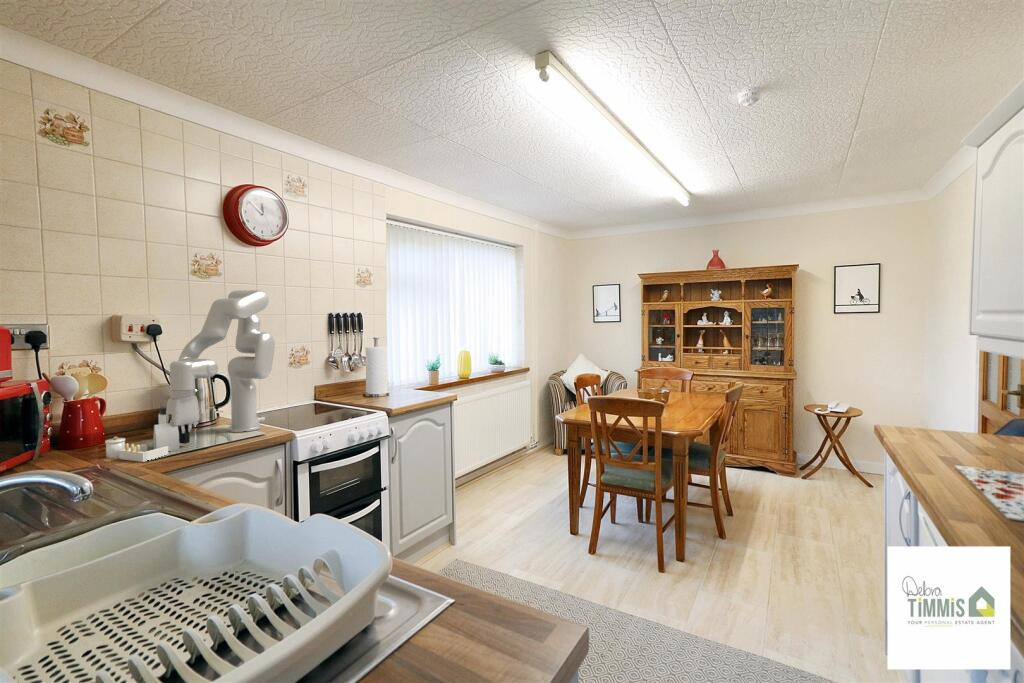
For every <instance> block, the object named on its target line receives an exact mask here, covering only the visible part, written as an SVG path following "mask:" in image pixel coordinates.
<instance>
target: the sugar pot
mask: <svg viewBox="0 0 1024 683" xmlns="http://www.w3.org/2000/svg"><path fill="white" fill-rule="evenodd" d="M104 443H105V455H106V458H108V459H114V458H115V459H116V458H119V450H123V449H126V446H125V444H126V438H125V437H118V436H113V438H109V439H106V440H104Z"/></svg>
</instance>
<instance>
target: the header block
mask: <svg viewBox="0 0 1024 683" xmlns="http://www.w3.org/2000/svg"><path fill="white" fill-rule="evenodd" d="M129 446H130V447H129ZM167 454H169V452H168V447H167V446H166V447H162V448H158V449H154V448H153V449H150V450H148V444H147V443H145V444H136V445H135V443H131V444H130V445H129V443H128V442H127V443H126V442H125V449H123V450H119V457H118V458H119V460H125V461H133V462H139V463H145V462H148V461H147V460H149V461H152V460H155V458H156V459H159V458H158V457H160V458H162V457H161V456H163V457H165V456H164V455H167ZM167 456H168V455H167ZM151 459H152V460H151Z"/></svg>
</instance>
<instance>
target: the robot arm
mask: <svg viewBox="0 0 1024 683" xmlns="http://www.w3.org/2000/svg"><path fill="white" fill-rule="evenodd" d="M268 305H269V296H268V294H267V293H266V292H265V291H263V290H260V289H256V290H255V289H251V290H250V289H249V290H247V289H244V290H243V289H240V290H239V289H238V290H233V291H230V292H229V294H228V295H227V298H218V299H215V300H214V301H213V302H212V304H211V306H210V308H209V310H208V313H207V316H206V318H205V321H204V324H203V326H202V328H201V331H200V332H198V333H197V334H196V335H195V336H194V337H192V339H191V340H189V342H188V343H186V345H185V346H184V347H183V348H182V351H181V353H180V355H179V358H178V360H176V361H172V362H170V364H169V390H170V391H169V392H170V398H168V400H167V404H166V406H167V408H166V423H174V426H178V431H179V444H183V445H185V444H190V443H191V442H190V432H191V431H192V430H193V427H195V426H197V425H198V424H199V420H200V406H199V405H200V404H199V402H198V398H197V395H196V393H198V390H197V388H196V379H209V378H212V377H214V376H216V375H217V373H218V370H219V366H218V364H217V362H215V361H214V360H213V359H209V358H199V357H200V356H201V354H202V353H204V351H205V350H206V349H208V348H209V347H211V346H215V345H217V344H219V343H220V342H222V341H224V340H225V339H226V337H227V334H228V331H229V329H230V325H231V323H232V321H233V320H238V322H237V328H236V329H237V330H236V336H235V338H236V339H235V349H236V351H237V352H238V353H242V354H252V355H254V356H247V355H246V356H244V355H243V356H242V355H241V356H236V357H233V358H231V359H230V361H229V362H228V363H227V373H228V378H229V381H230V382H229V383H230V406H231V407H230V408H231V409H230V411H231V412H230V413H231V414H230V415H231V416H230V417H231V426H228V427H227V429H226V430H228V431H227V432H229V431H230V432H229V433H244V432H243V431H247V432H252V431H253V432H254V431H257V430H260V429H261V427H262V426H261V424H260V422H264V421H266V417H265V416H261V417H259V416H257V415H258V413H257V410H258V409H257V386H256V382H255V381H254V380H262V379H263V380H264V379H266V378H268V377H269V375H270V374H271V372H272V369H273V368H272V367H273V362H274V354H275V346H276V343H275V339H274V336H273V335H272V334H271V333H269V332H266V331H261V318H260V315H259V313H260V312H262V311H263V310H265V309H266V308H267V307H268Z"/></svg>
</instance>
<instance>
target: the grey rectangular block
mask: <svg viewBox="0 0 1024 683" xmlns="http://www.w3.org/2000/svg"><path fill="white" fill-rule="evenodd" d="M152 437H153V438H152V439H153V443H152V444H153V450H154V449H158V448H162V447H166V446H167V447H168V451H171V452H174V451H173V450H177V451H180V443H179V431H178V426H174V423H166V424H159V423H158V424H154V425H153V436H152Z"/></svg>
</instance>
